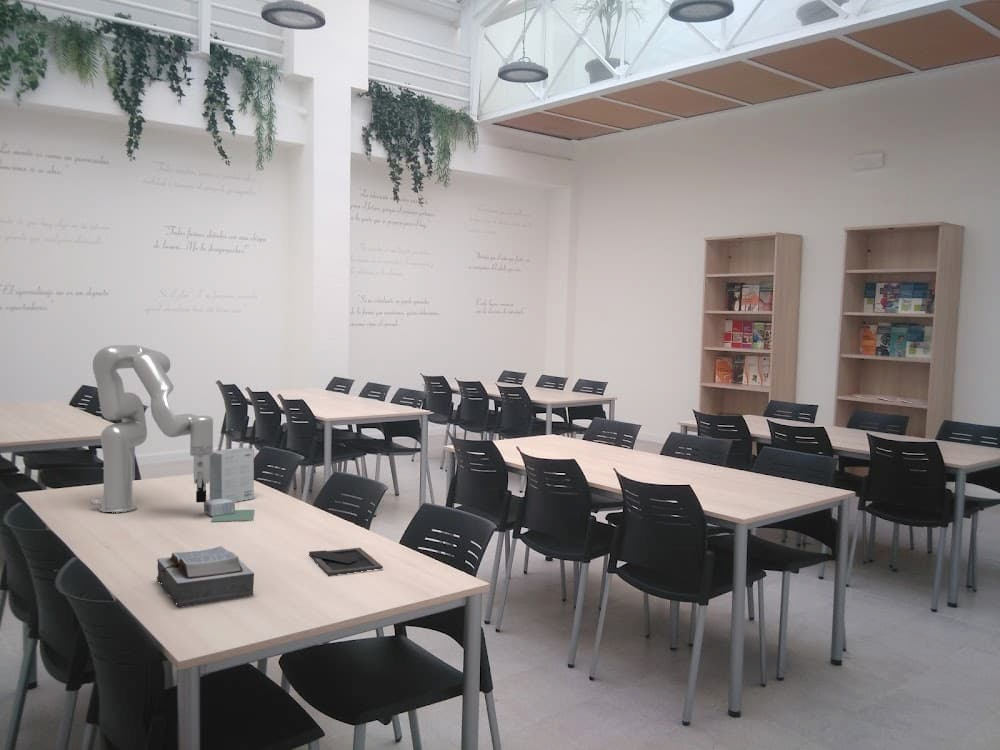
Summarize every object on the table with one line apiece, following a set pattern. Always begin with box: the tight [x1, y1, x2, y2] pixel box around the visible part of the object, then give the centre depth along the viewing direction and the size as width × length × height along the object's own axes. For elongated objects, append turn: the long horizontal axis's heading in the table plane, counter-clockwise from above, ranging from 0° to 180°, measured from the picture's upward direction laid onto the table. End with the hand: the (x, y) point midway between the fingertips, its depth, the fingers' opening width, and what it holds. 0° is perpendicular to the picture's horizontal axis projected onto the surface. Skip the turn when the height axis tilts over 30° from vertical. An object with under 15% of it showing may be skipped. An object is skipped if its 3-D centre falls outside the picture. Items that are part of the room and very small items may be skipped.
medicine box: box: [203, 498, 236, 517], centre depth 292 cm, size 8×4×9 cm
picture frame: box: [308, 547, 384, 577], centre depth 238 cm, size 16×2×21 cm
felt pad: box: [210, 509, 255, 523], centre depth 289 cm, size 14×16×1 cm
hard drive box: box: [209, 447, 255, 503], centre depth 313 cm, size 16×8×20 cm, turn 144°
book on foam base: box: [156, 545, 255, 607], centre depth 212 cm, size 23×27×10 cm
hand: (201, 501), depth 286 cm, fingers closed
